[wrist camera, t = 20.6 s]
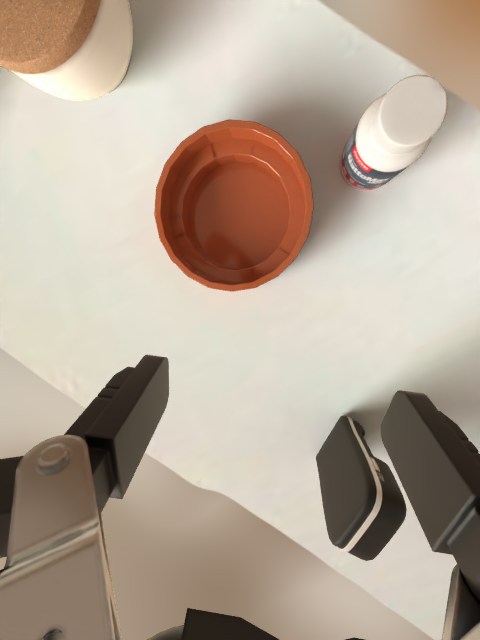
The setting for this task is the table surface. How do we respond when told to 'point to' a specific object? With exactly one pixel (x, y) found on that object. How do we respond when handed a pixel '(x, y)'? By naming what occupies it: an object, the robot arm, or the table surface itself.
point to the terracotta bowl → (233, 205)
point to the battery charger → (357, 493)
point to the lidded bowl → (67, 44)
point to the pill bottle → (394, 132)
